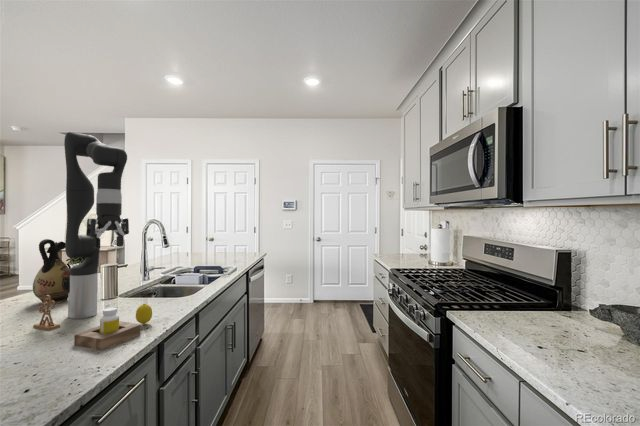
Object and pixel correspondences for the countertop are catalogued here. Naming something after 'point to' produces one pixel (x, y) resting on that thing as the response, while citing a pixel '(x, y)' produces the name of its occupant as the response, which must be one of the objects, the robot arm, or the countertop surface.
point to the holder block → (106, 336)
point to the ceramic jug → (52, 274)
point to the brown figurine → (49, 324)
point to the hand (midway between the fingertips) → (108, 247)
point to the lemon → (143, 314)
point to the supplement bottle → (109, 321)
